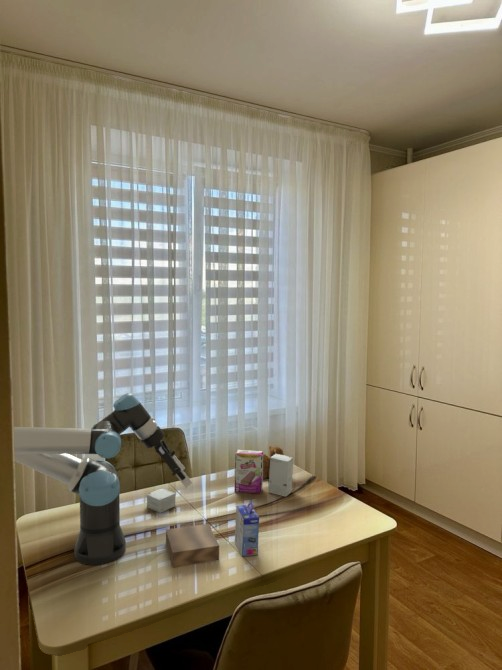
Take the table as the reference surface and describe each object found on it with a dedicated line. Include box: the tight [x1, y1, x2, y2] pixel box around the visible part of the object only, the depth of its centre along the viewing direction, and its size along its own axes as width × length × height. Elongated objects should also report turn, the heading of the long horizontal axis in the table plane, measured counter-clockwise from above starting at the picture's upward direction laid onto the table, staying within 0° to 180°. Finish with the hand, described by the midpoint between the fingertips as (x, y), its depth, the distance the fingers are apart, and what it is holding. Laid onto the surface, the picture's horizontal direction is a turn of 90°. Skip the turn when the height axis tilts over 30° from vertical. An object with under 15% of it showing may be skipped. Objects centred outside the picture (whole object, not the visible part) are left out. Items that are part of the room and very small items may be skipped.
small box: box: [146, 488, 176, 514], centre depth 177 cm, size 8×8×5 cm
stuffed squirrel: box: [263, 446, 285, 480], centre depth 208 cm, size 10×14×13 cm
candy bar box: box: [234, 449, 264, 495], centre depth 192 cm, size 11×5×16 cm, turn 84°
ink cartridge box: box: [234, 500, 260, 557], centre depth 149 cm, size 10×6×14 cm, turn 15°
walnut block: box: [165, 523, 220, 568], centre depth 147 cm, size 14×14×5 cm
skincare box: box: [267, 454, 295, 498], centre depth 191 cm, size 8×6×15 cm
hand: (185, 477), depth 166 cm, fingers open, 13 cm apart
